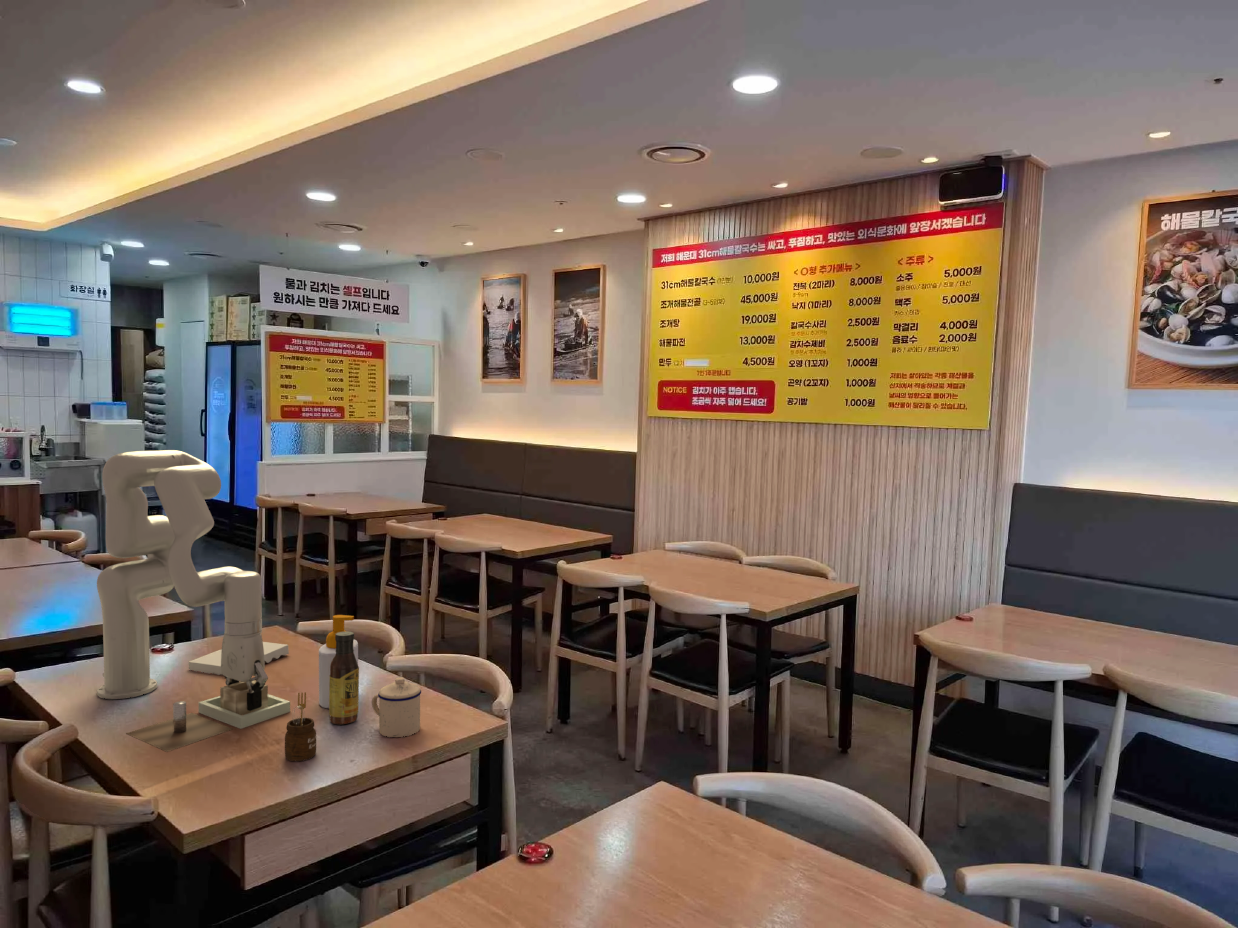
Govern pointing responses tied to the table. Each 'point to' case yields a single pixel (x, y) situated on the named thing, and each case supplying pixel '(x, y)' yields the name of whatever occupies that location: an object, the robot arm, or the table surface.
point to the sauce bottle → (344, 681)
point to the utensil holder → (300, 736)
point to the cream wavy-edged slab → (213, 660)
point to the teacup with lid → (398, 708)
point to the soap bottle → (331, 657)
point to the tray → (241, 721)
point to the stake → (179, 717)
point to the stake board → (168, 740)
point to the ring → (240, 698)
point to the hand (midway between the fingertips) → (244, 704)
